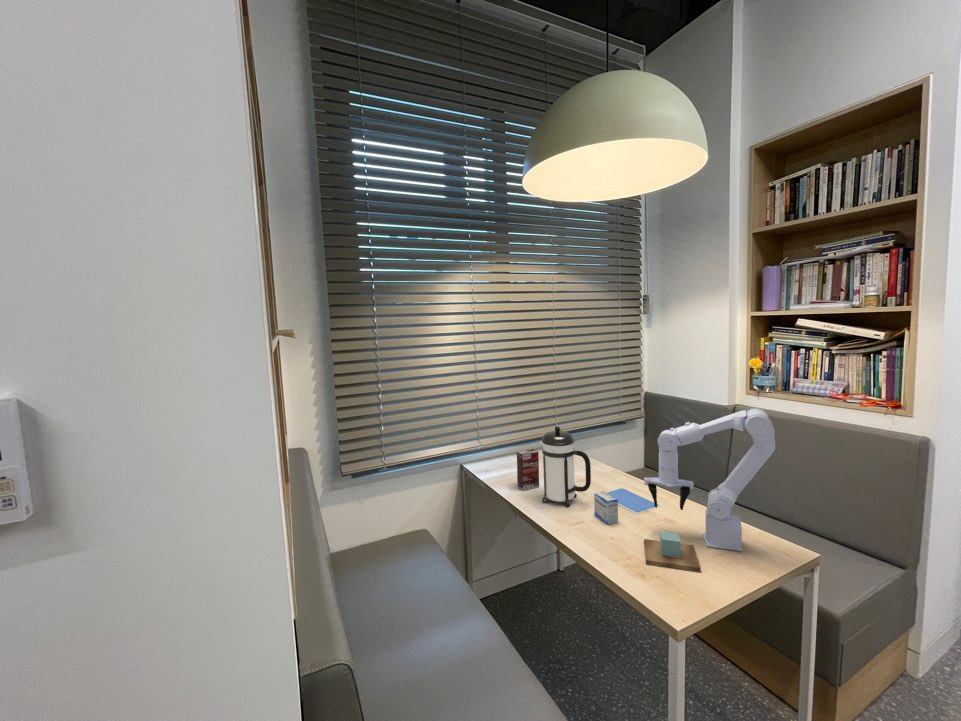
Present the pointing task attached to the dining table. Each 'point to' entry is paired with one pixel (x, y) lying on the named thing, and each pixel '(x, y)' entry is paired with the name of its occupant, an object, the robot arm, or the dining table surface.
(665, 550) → the teal cube
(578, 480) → the dining table surface
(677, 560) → the walnut board
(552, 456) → the coffee press
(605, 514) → the medicine box
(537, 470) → the supplement box
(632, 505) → the tablet computer
